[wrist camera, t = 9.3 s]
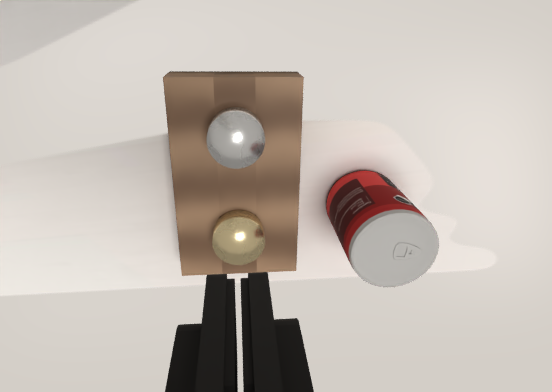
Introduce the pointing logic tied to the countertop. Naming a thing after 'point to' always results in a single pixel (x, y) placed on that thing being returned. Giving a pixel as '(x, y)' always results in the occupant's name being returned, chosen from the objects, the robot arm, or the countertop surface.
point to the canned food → (381, 229)
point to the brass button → (238, 237)
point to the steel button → (235, 138)
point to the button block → (235, 182)
